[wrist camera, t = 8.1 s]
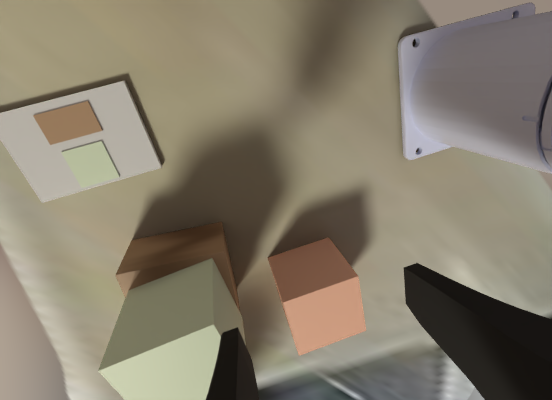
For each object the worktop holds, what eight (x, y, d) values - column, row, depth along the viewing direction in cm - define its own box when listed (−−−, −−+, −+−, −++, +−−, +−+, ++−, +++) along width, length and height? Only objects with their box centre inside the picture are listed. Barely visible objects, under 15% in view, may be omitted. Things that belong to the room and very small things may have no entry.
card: (125, 80, 16) (123, 80, 15) (162, 165, 18) (161, 168, 17) (-10, 115, 15) (-17, 117, 15) (45, 200, 17) (41, 203, 17)
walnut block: (221, 220, 20) (224, 251, 17) (236, 287, 23) (242, 326, 19) (132, 238, 19) (115, 275, 16) (157, 306, 22) (148, 351, 18)
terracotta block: (328, 236, 23) (358, 276, 18) (337, 284, 25) (366, 330, 20) (267, 257, 22) (282, 302, 18) (282, 304, 24) (298, 355, 20)
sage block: (212, 257, 17) (213, 324, 12) (242, 316, 19) (252, 391, 14) (128, 290, 16) (98, 370, 12) (168, 346, 19) (155, 432, 14)
